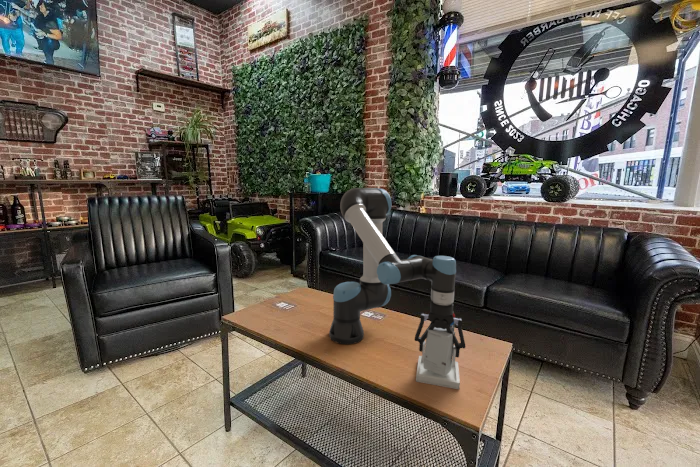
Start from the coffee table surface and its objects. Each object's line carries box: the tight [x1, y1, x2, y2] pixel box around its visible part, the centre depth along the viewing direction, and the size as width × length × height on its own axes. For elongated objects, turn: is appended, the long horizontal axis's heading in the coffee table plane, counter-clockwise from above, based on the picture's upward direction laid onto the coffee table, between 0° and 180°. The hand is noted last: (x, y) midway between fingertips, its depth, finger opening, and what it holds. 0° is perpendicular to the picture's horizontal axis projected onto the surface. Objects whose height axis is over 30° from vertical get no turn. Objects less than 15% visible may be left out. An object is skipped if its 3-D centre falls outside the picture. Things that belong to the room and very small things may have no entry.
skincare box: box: [424, 327, 456, 377], centre depth 108 cm, size 8×6×15 cm
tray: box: [415, 355, 461, 390], centre depth 109 cm, size 14×13×2 cm
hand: (438, 362), depth 109 cm, fingers closed on skincare box, 10 cm apart
